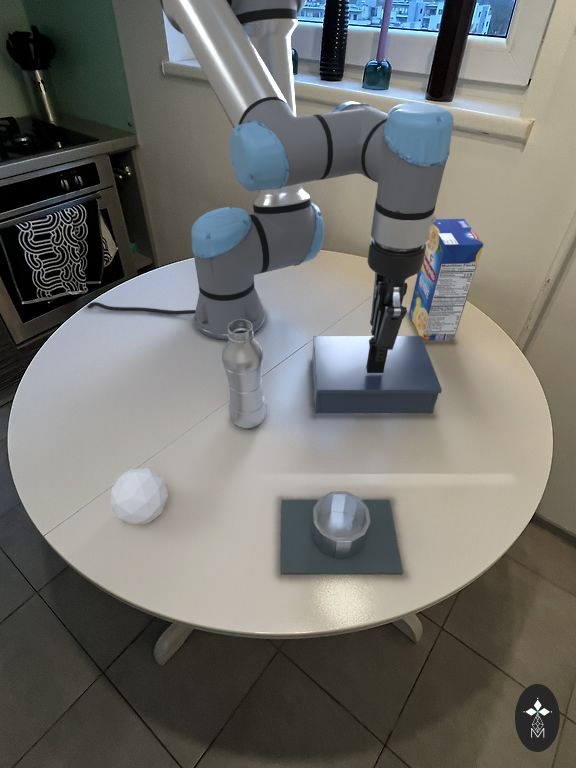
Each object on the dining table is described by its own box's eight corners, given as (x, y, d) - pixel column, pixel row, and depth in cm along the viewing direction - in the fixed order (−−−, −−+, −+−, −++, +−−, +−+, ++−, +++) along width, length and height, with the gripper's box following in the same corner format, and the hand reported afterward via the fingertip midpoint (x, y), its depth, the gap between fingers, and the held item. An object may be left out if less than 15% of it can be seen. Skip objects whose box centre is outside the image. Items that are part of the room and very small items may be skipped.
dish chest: (431, 416, 80) (439, 392, 76) (315, 416, 80) (316, 392, 76) (414, 362, 90) (420, 339, 86) (311, 362, 90) (313, 339, 87)
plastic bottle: (272, 410, 81) (269, 317, 67) (258, 437, 76) (251, 344, 63) (239, 401, 82) (229, 309, 69) (223, 428, 78) (209, 335, 64)
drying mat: (280, 574, 59) (280, 572, 59) (281, 501, 67) (281, 499, 67) (402, 574, 59) (403, 572, 59) (389, 501, 67) (389, 499, 67)
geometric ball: (135, 519, 68) (99, 482, 65) (178, 486, 69) (145, 448, 66) (133, 547, 61) (93, 506, 58) (181, 510, 62) (144, 468, 59)
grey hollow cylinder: (313, 560, 60) (314, 541, 57) (311, 510, 66) (312, 491, 62) (368, 560, 60) (373, 541, 57) (362, 510, 66) (366, 491, 62)
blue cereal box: (420, 343, 95) (445, 245, 80) (408, 313, 103) (429, 219, 88) (453, 342, 95) (483, 244, 80) (438, 313, 103) (464, 218, 88)
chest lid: (441, 393, 75) (442, 390, 74) (316, 393, 75) (316, 390, 74) (420, 339, 86) (421, 335, 86) (313, 339, 86) (313, 335, 86)
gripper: (438, 264, 56) (403, 397, 72) (416, 219, 65) (390, 346, 82) (377, 263, 56) (356, 397, 72) (364, 218, 65) (349, 345, 82)
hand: (374, 370), depth 77 cm, fingers closed
